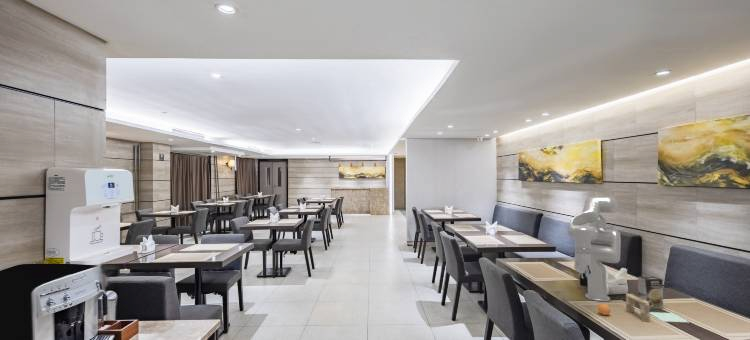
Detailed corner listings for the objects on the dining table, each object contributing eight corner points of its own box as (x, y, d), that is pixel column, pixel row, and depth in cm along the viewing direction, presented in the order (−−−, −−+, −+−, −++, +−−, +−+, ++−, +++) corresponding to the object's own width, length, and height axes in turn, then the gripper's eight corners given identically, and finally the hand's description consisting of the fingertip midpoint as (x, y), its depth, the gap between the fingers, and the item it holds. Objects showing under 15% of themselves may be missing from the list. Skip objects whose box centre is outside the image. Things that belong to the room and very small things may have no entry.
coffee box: (647, 309, 189) (646, 279, 190) (638, 305, 196) (637, 276, 196) (664, 308, 190) (662, 279, 190) (654, 304, 196) (653, 276, 197)
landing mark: (647, 312, 185) (647, 312, 185) (672, 313, 183) (672, 313, 183) (662, 321, 173) (662, 321, 173) (689, 322, 171) (689, 322, 171)
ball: (596, 312, 185) (595, 302, 186) (607, 312, 185) (606, 302, 185) (601, 316, 180) (600, 305, 180) (612, 316, 179) (612, 306, 179)
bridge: (643, 321, 173) (642, 302, 173) (626, 310, 187) (625, 293, 188) (649, 321, 173) (649, 303, 173) (632, 311, 187) (632, 293, 187)
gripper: (569, 248, 193) (570, 281, 192) (581, 253, 178) (582, 289, 177) (584, 248, 192) (585, 282, 191) (597, 253, 177) (598, 290, 176)
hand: (583, 285), depth 184 cm, fingers closed
